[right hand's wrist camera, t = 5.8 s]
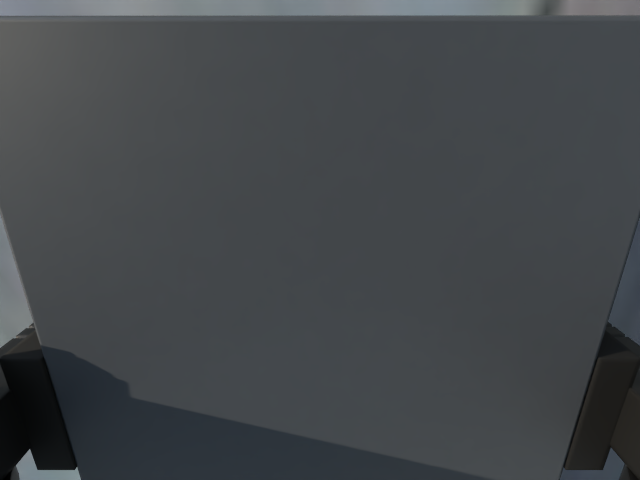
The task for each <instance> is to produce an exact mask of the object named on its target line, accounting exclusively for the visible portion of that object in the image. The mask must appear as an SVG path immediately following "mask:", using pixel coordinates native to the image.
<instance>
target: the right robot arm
mask: <svg viewBox="0 0 640 480" xmlns="http://www.w3.org/2000/svg"><path fill="white" fill-rule="evenodd" d="M610 448H612V449H613V450H614V451H615V452H616V453H617V455H618V456H619V457H620V458H621V459H622V461H623V462H624V463H625V465H624V468H623V470H622V473H621V476H620V478H619V480H640V346H639V345H638V344H637V343H635V342H634V341H633V340H631V339H630V338H629V337H625V334H623V333H622V332H621V331H619V330H618V329H617V328H615V327H612V326H611V324H610V323H609V322H608V323H607V326H606V329H605V332H604V336H603V339H602V342H601V346H600V349H599V352H598V355H597V359H596V362H595V365H594V368H593V372H592V375H591V378H590V382H589V385H588V388H587V391H586V395H585V398H584V401H583V405H582V408H581V411H580V414H579V418H578V421H577V424H576V428H575V431H574V434H573V437H572V441H571V444H570V447H569V450H568V454H567V457H566V460H565V464H564V468H565V470H603V468H604V465H605V462H606V459H607V456H608V453H609V451H610ZM29 449H30V450H31V453H32V455H33V458H34V461H35V464H36V467H37V469H38V470H75V469H76V467H77V464H76V461H75V458H74V454H73V451H72V448H71V444H70V441H69V438H68V434H67V431H66V428H65V425H64V421H63V418H62V415H61V411H60V408H59V405H58V402H57V398H56V395H55V392H54V388H53V385H52V382H51V379H50V375H49V372H48V369H47V365H46V362H45V359H44V356H43V352H42V349H41V346H40V342H39V339H38V336H37V333H36V329H35V326H34V323H33V324H31V325H30V326H29V328H26V329H25V330H23V331H22V332H21V333H19V334H18V335H17V336H16V339H12V340H10V341H9V342H8V343H6V344H5V345H4V346H2V347H1V348H0V480H20V479H19V473H18V470H17V468H16V464H17V463H18V462H19V461H20V460H21V458H22V457H23V456H24V455H25V454H26V453H27V451H28V450H29Z"/></svg>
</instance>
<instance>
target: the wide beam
mask: <svg viewBox="0 0 640 480" xmlns="http://www.w3.org/2000/svg"><path fill="white" fill-rule="evenodd" d="M0 214H1V218H2V221H3V224H4V227H5V231H6V234H7V237H8V241H9V244H10V247H11V250H12V254H13V257H14V260H15V264H16V267H17V270H18V273H19V277H20V280H21V283H22V287H23V290H24V293H25V296H26V300H27V303H28V306H29V310H30V313H31V316H32V319H33V323H34V326H35V329H36V333H37V336H38V339H39V342H40V346H41V349H42V352H43V356H44V359H45V362H46V365H47V369H48V372H49V375H50V379H51V382H52V385H53V388H54V392H55V395H56V398H57V402H58V405H59V408H60V411H61V415H62V418H63V421H64V425H65V428H66V431H67V434H68V438H69V441H70V444H71V448H72V451H73V454H74V458H75V461H76V464H77V467H78V471H79V474H80V477H81V480H560V477H561V473H562V470H563V467H564V464H565V460H566V457H567V454H568V450H569V447H570V444H571V441H572V437H573V434H574V431H575V428H576V424H577V421H578V418H579V414H580V411H581V408H582V405H583V401H584V398H585V395H586V391H587V388H588V385H589V382H590V378H591V375H592V372H593V368H594V365H595V362H596V359H597V355H598V352H599V349H600V346H601V342H602V339H603V336H604V332H605V329H606V326H607V323H608V319H609V316H610V313H611V309H612V306H613V303H614V300H615V296H616V293H617V290H618V286H619V283H620V280H621V277H622V273H623V270H624V267H625V264H626V260H627V257H628V254H629V250H630V247H631V244H632V241H633V237H634V234H635V231H636V227H637V224H638V221H639V218H640V16H0Z"/></svg>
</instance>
